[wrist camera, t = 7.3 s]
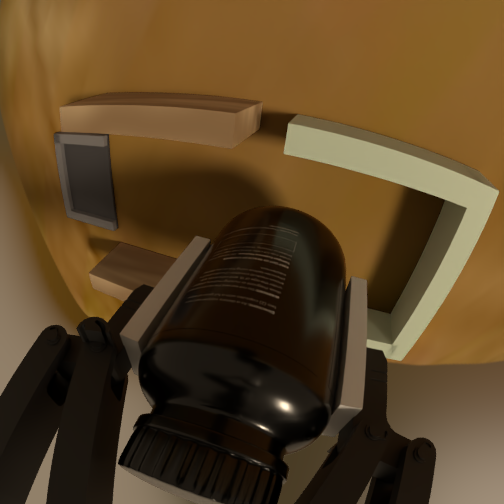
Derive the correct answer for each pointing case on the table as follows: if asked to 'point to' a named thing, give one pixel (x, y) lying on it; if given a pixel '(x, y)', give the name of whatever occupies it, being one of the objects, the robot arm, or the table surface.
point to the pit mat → (86, 177)
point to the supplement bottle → (243, 362)
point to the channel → (162, 127)
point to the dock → (420, 178)
